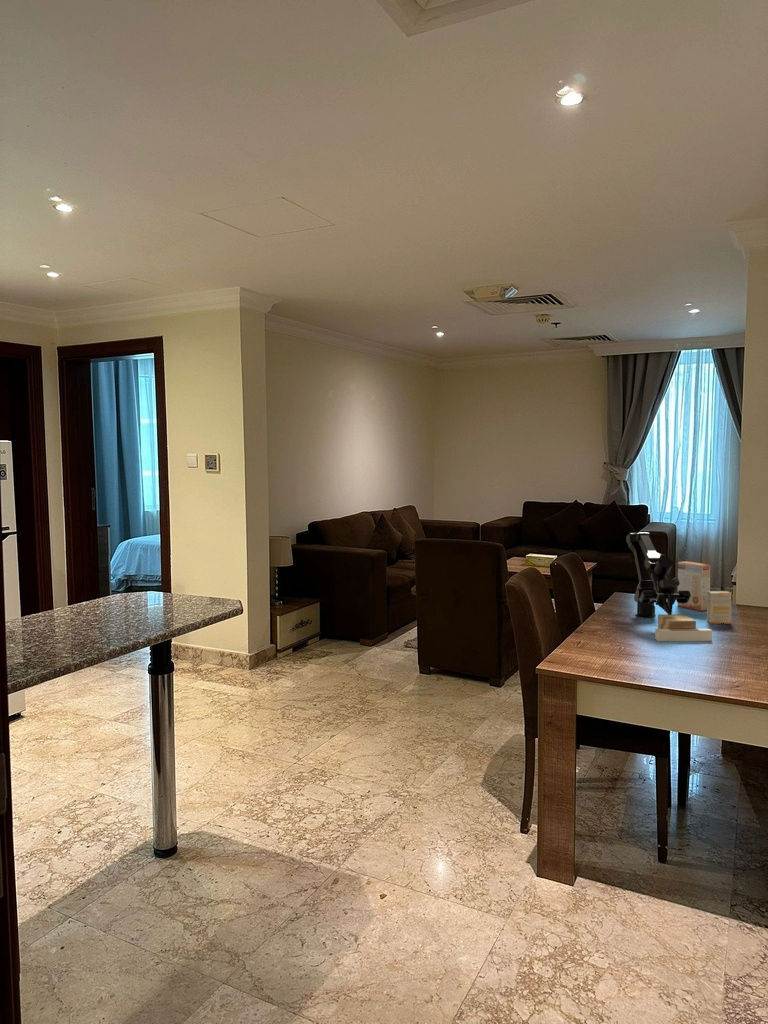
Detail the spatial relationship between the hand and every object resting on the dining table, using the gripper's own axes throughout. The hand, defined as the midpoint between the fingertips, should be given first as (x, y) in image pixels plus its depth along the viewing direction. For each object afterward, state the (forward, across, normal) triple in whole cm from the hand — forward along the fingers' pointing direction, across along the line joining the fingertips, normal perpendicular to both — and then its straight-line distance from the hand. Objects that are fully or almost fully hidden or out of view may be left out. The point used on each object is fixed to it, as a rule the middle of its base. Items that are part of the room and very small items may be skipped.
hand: (670, 614), depth 282 cm
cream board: (+14, 0, -5) cm, 15 cm away
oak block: (+9, 0, +1) cm, 9 cm away
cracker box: (-27, +27, +36) cm, 52 cm away
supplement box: (-6, +25, +16) cm, 30 cm away
